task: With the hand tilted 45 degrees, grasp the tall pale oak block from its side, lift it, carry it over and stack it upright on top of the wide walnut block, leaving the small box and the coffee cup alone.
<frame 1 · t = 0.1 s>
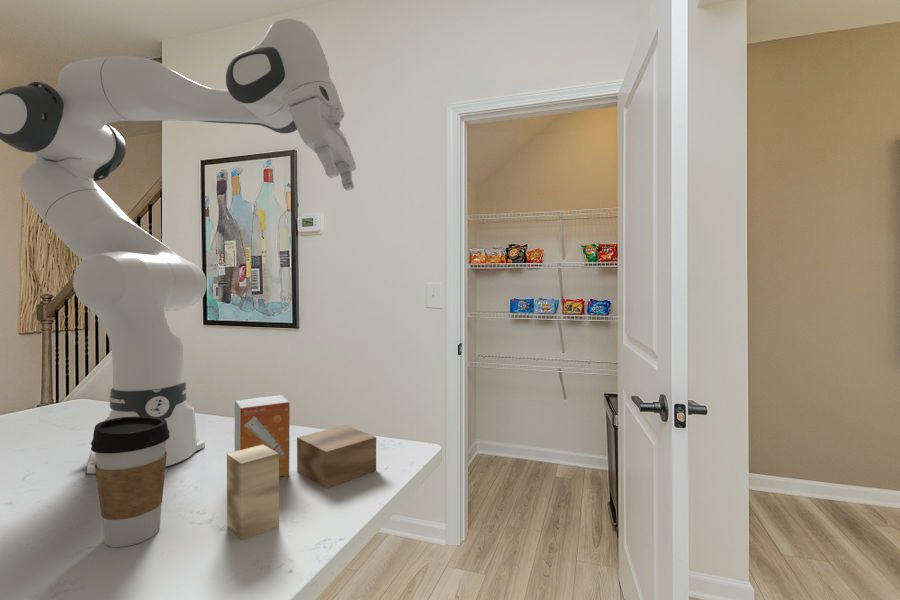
hand: (341, 182, 80), 52 cm above the kitchen island, tool tilted 20°, fingers open, 8 cm apart
oak block: (253, 525, 61), on the kitchen island
walnut block: (336, 470, 79), on the kitchen island
small box: (262, 475, 78), on the kitchen island
coffee cup: (133, 536, 58), on the kitchen island
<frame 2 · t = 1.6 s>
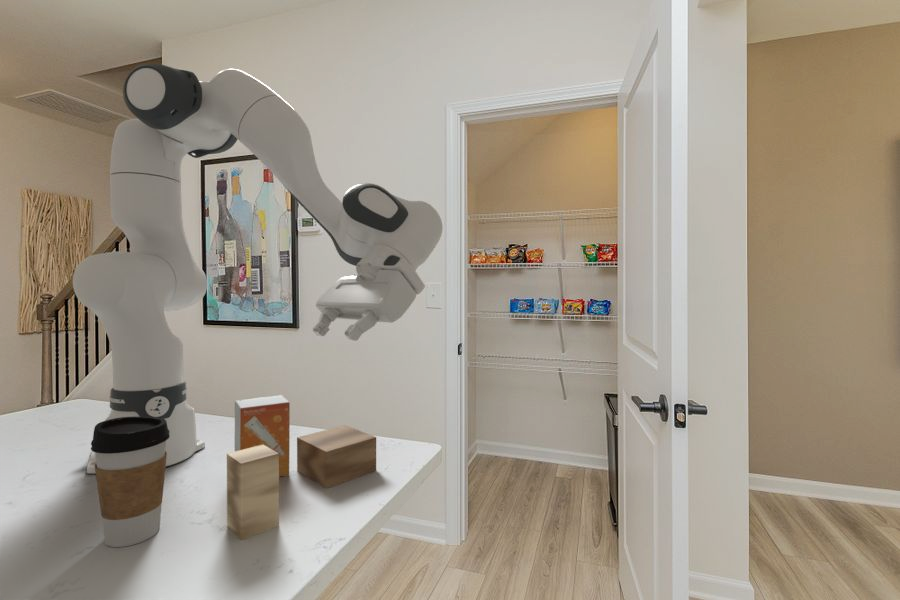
hand: (332, 335, 69), 25 cm above the kitchen island, tool tilted 45°, fingers open, 8 cm apart
nothing on the kitchen island moved.
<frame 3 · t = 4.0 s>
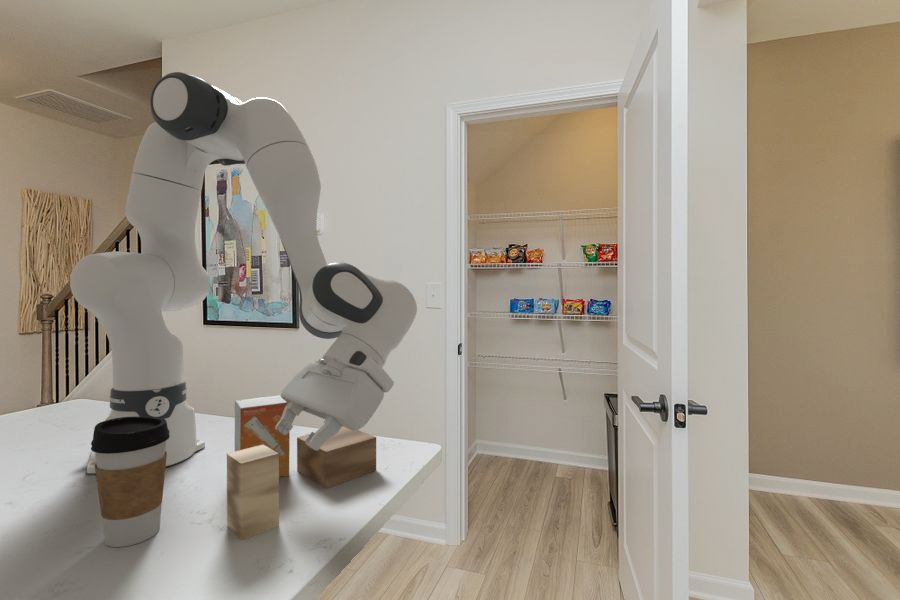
hand: (294, 439, 65), 10 cm above the kitchen island, tool tilted 45°, fingers open, 8 cm apart
nothing on the kitchen island moved.
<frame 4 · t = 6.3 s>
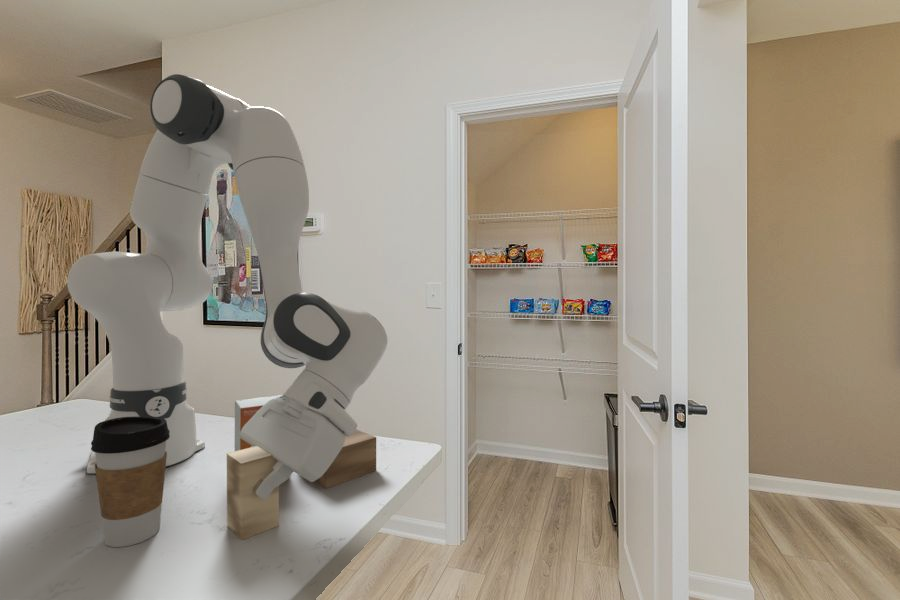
hand: (248, 488, 60), 5 cm above the kitchen island, tool tilted 45°, fingers closed on oak block, 5 cm apart
oak block: (253, 525, 61), on the kitchen island, touching gripper
everything else where it was.
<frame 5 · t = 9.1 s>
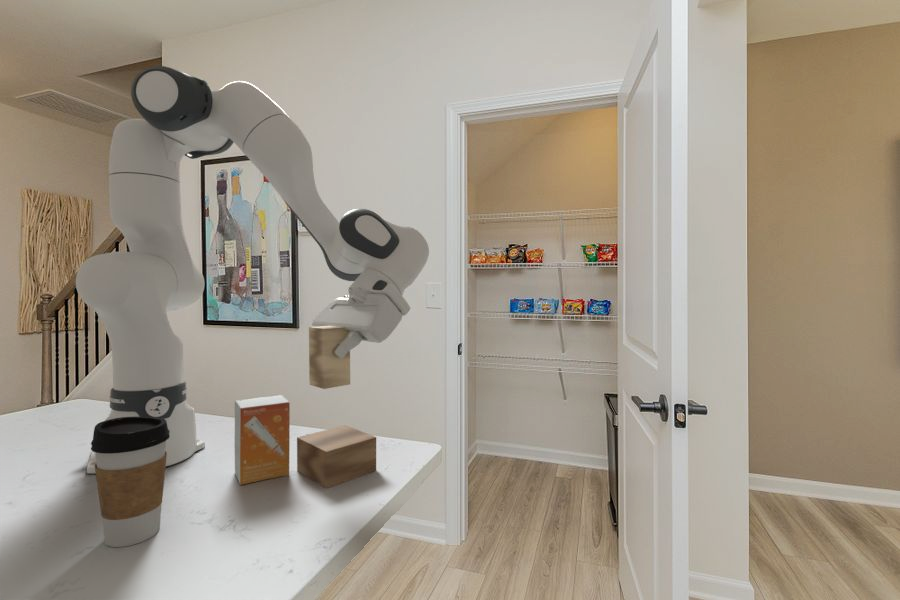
hand: (326, 353, 76), 21 cm above the kitchen island, tool tilted 45°, fingers closed on oak block, 5 cm apart
oak block: (329, 384, 77), point 16 cm above the kitchen island, touching gripper
everything else where it was.
when the fingers open (12 cm above the kitchen island, at t = 11.9 s): oak block stays where it is, resting on walnut block.
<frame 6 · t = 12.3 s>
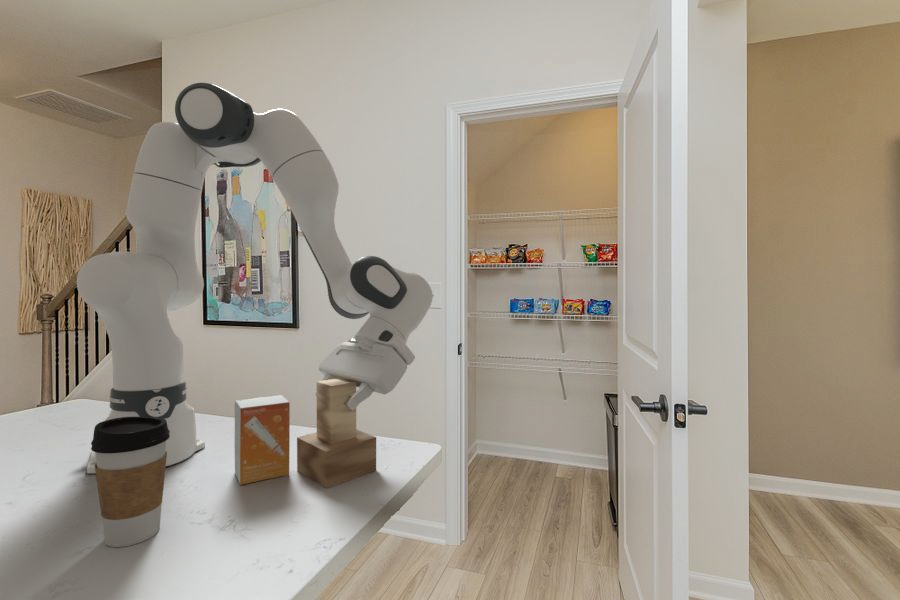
hand: (333, 402, 78), 12 cm above the kitchen island, tool tilted 45°, fingers open, 8 cm apart
oak block: (336, 437, 79), point 6 cm above the kitchen island, touching walnut block
everything else where it was.
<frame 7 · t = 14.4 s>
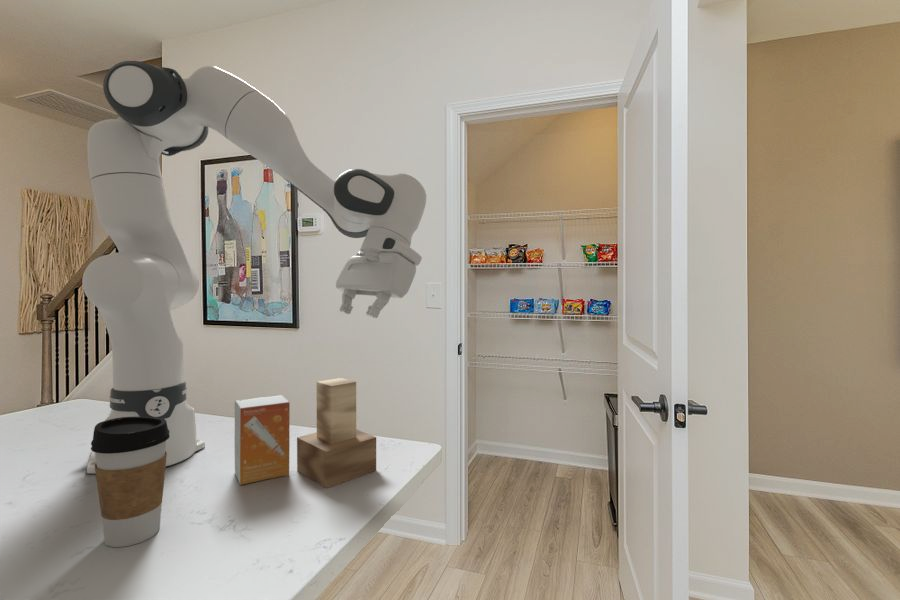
hand: (357, 314, 84), 28 cm above the kitchen island, tool tilted 25°, fingers open, 8 cm apart
nothing on the kitchen island moved.
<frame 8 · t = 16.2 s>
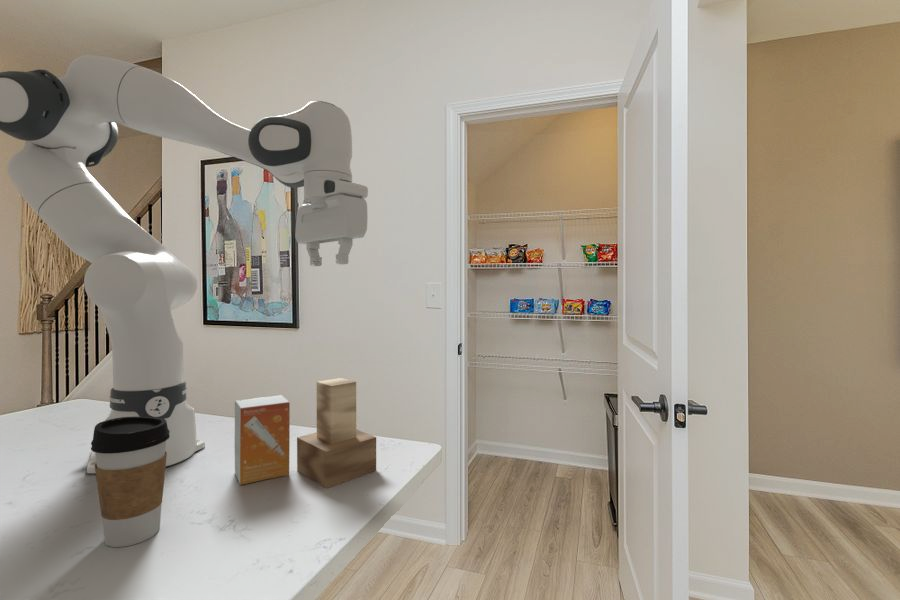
hand: (328, 265, 84), 37 cm above the kitchen island, tool pointing down, fingers open, 8 cm apart
nothing on the kitchen island moved.
at the end: oak block inside the target area on the walnut block (0.1 cm from its centre), point 6.0 cm above the walnut block's base; oak block tilted 0°; the gripper is holding nothing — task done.
